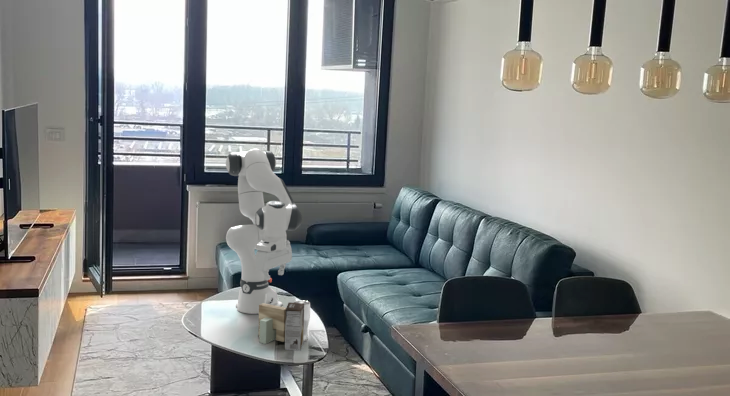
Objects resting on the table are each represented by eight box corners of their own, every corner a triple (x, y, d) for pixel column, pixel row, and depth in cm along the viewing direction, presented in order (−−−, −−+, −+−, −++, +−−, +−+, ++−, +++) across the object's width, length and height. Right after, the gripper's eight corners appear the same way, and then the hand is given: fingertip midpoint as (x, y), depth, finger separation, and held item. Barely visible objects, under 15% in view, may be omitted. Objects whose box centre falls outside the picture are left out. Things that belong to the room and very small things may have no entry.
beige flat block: (262, 334, 280) (263, 303, 278) (287, 339, 274) (288, 308, 273) (258, 336, 277) (258, 304, 275) (283, 342, 272) (284, 309, 270)
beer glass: (306, 343, 272) (307, 306, 270) (289, 341, 273) (290, 304, 271) (311, 337, 278) (312, 301, 276) (295, 335, 280) (295, 299, 278)
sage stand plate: (279, 332, 283) (279, 311, 281) (285, 334, 281) (286, 312, 280) (259, 342, 270) (259, 320, 269) (265, 343, 269) (266, 321, 268)
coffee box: (287, 341, 272) (288, 302, 270) (303, 342, 272) (304, 302, 270) (284, 349, 263) (285, 308, 261) (300, 350, 263) (302, 309, 261)
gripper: (283, 237, 281) (282, 270, 283) (253, 246, 263) (252, 281, 265) (296, 239, 278) (295, 273, 280) (266, 248, 260) (265, 284, 262)
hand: (274, 277), depth 272 cm, fingers open, 8 cm apart
